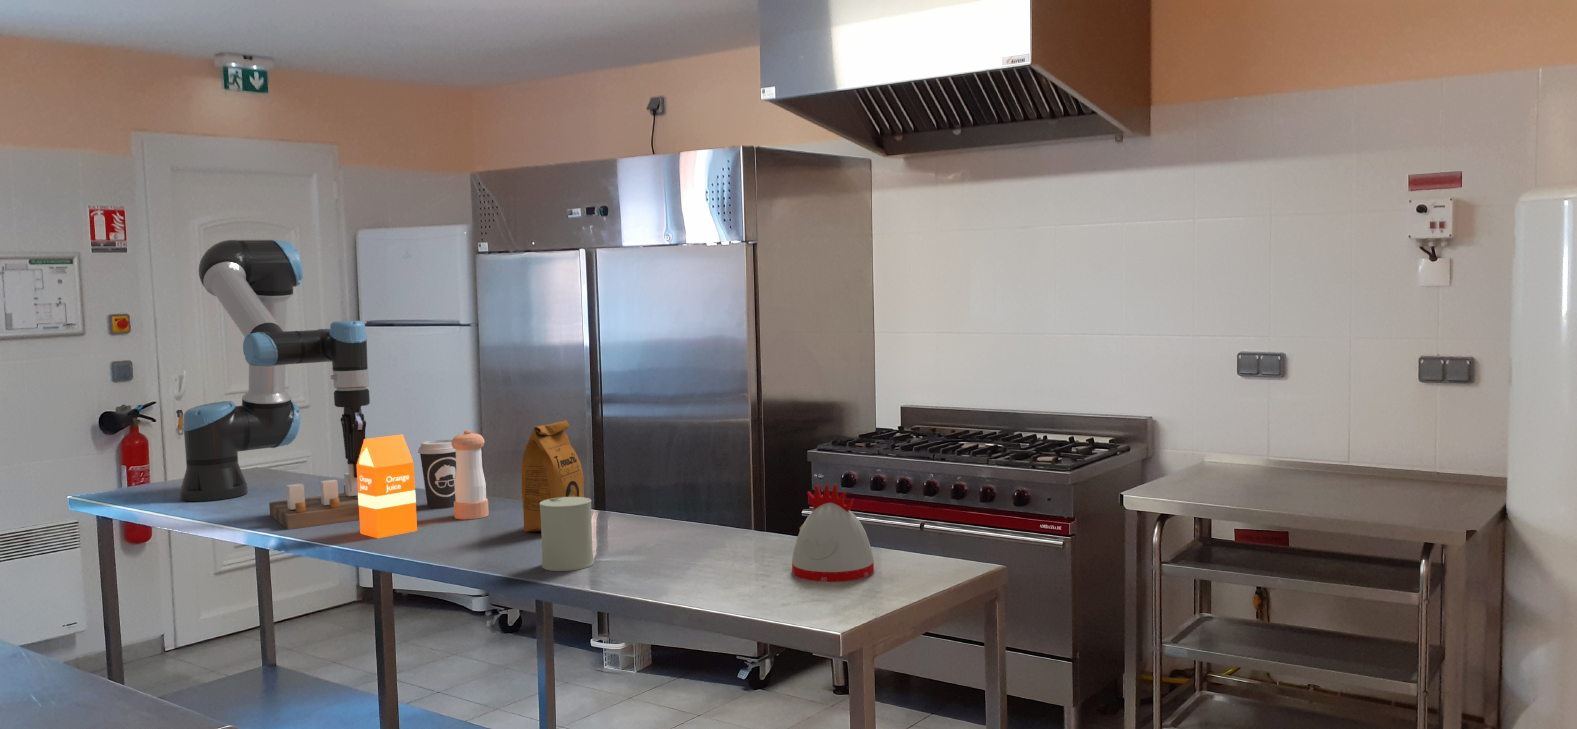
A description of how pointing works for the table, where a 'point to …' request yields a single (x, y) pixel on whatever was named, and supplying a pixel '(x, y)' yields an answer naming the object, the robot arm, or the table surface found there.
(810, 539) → the kitchen timer
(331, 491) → the switch
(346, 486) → the switch
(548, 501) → the can
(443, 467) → the coffee cup
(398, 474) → the orange juice
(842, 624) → the table surface
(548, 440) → the coffee package
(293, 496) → the switch
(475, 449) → the pepper shaker
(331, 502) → the switch unit
